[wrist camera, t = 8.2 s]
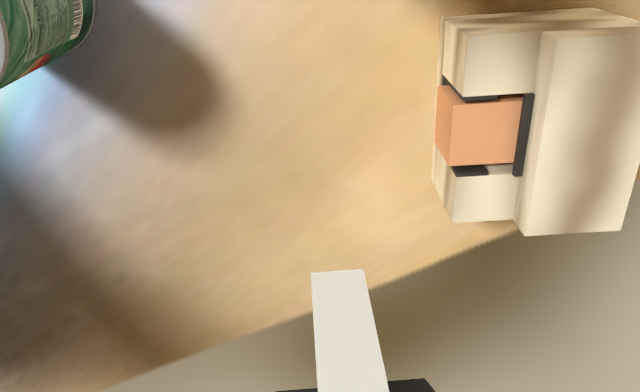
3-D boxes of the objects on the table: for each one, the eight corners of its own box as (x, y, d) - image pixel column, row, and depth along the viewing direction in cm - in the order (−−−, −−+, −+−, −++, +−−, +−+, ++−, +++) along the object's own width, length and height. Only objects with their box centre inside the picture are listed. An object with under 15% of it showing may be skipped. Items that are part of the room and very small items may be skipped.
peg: (434, 141, 35) (448, 166, 31) (437, 85, 33) (453, 105, 29) (577, 132, 35) (607, 156, 31) (589, 76, 33) (623, 94, 29)
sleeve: (431, 179, 38) (460, 240, 31) (440, 16, 32) (479, 44, 25) (560, 171, 38) (620, 230, 31) (592, 7, 32) (676, 31, 25)
